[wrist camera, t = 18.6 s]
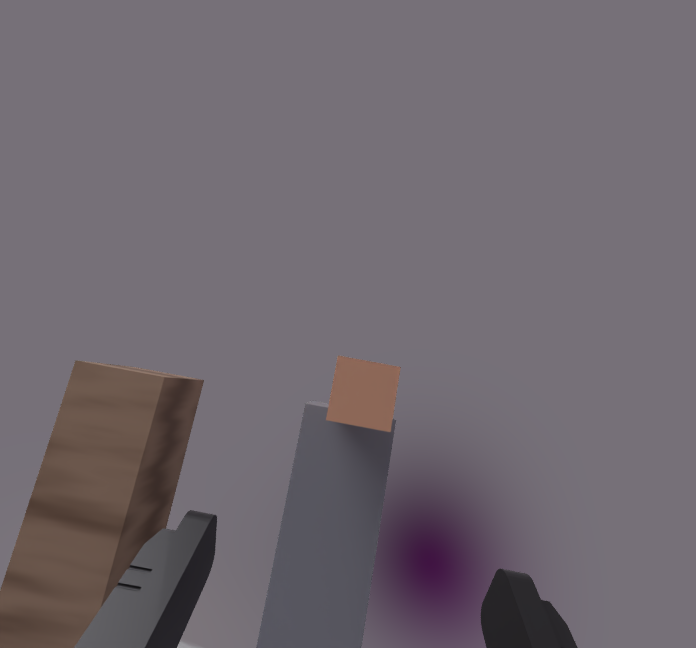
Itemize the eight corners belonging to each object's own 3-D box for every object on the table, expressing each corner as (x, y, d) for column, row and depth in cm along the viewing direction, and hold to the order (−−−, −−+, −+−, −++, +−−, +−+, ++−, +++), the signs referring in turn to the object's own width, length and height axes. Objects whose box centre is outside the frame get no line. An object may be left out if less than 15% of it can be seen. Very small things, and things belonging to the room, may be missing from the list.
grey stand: (312, 969, 21) (395, 420, 27) (196, 945, 21) (305, 403, 27) (319, 812, 29) (383, 413, 35) (235, 794, 29) (313, 400, 35)
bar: (390, 432, 16) (400, 367, 17) (325, 419, 16) (338, 355, 17) (358, 406, 44) (362, 381, 44) (334, 401, 44) (339, 377, 44)
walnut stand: (16, 908, 21) (164, 377, 27) (-97, 884, 21) (75, 360, 27) (104, 768, 29) (203, 380, 35) (21, 751, 29) (134, 367, 35)
